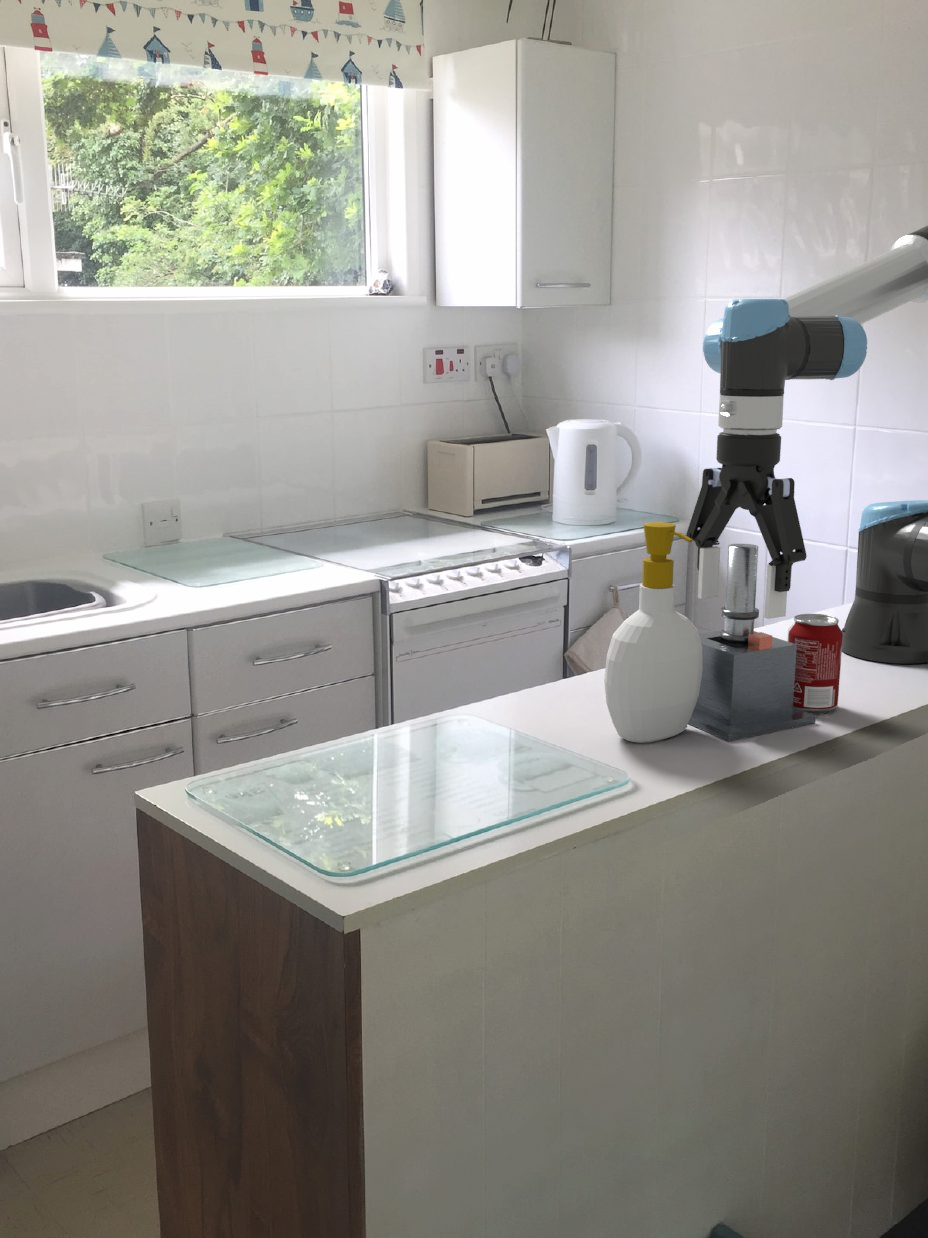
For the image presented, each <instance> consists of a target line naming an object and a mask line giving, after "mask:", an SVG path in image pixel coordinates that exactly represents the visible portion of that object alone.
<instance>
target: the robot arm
mask: <svg viewBox="0 0 928 1238" xmlns="http://www.w3.org/2000/svg"><path fill="white" fill-rule="evenodd" d="M909 302H912V303H917V304H919V303H920V304H921V303H926V302H928V225H925V226H924V227H921V228H919V229H917V230H914V231H913V232H910V233H908V234H906V235H904V236H902V237H900V238H899V239H897V240H896V241H894V243H893V244H892V246H891V248H890V250H888V251H886V252H884V253H882V254H880V255H877V256H875V257H874V258H871V259H869V260H865V262H863V263H859V264H858V265H856V266H853V267H852V268H849V269H847V270H845V271H843V272H841V273H838V274H835V275H834V276H832V277H829V278H827V279H824V280H823V281H821V282H819V283H816V284H814V285H812V286H810V287H807V288H804V289H803V290H801V291H799V292H796V293H794V294H792V295H790V296H788V297H785V298H783V299H782V298H780V299H779V298H743V299H742V298H739V299H736V298H735V299H732V300H731V301H729V302H728V303H727V304H726V305H725V308H724V312H723V318H719V319H717V320H716V321H714V322H713V323H712V324H711V325H710V326H709V327H708V329H707V330H706V332H705V334H704V337H703V342H702V352H703V357H704V360H705V362H706V364H707V365H708V367H709V368H710V369H711V370H713V371H714V372H716V373H718V374H720V375H719V377H720V378H719V380H720V381H719V384H720V385H719V403H718V405H719V406H718V422H717V423H718V424H717V425H718V427H719V428H720V429H723V430H722V432H719V433H718V435H717V437H716V438H717V439H716V440H717V441H716V462H717V463H718V464H721V465H722V466H721V467H713V468H712V467H711V468H704V469H703V470H702V479H701V480H702V481H701V487H700V491H699V494H698V497H697V500H696V502H695V506H694V510H693V512H692V515H691V519H690V522H689V524H688V527H687V531H686V536H687V537H689V538H691V539H692V542H694V543H695V547H697V558H696V559H697V562H696V567H697V571H698V581H697V583H698V584H697V598H698V599H700V600H704V599H711V598H718V597H719V584H720V583H719V581H720V580H719V579H720V564H721V560H720V557H721V547H720V546H718V545H720V542H719V539H720V537H721V535H722V534H723V531H724V530H725V529H726V527H727V525H728V524H729V522H730V520H731V518H732V516H733V514H734V513H735V512H736V510H738V509H739V508H741V509H742V510H745V511H746V510H747V511H748V512H749V514H750V515H751V516H753V517H754V519H755V521H756V524H757V527H758V529H759V532H760V533H761V536H762V538H763V541H764V543H765V546H766V548H767V550H768V553H769V556H770V558H771V560H770V561H769V562H768V564H766V578H765V596H764V597H765V598H764V614H763V615H764V616H763V618H765V619H768V620H769V619H776V618H782V617H784V618H785V617H786V616H787V598H788V592H789V591H790V590H791V585H792V583H791V581H792V567H793V565H794V564H795V563H799V562H804V561H806V559H807V557H808V556H807V551H806V547H805V542H804V538H803V537H804V536H803V533H802V528H801V527H802V526H801V522H800V519H799V514H798V509H797V506H796V505H797V504H796V500H795V483H796V482H795V480H794V479H793V478H792V477H786V478H777V477H776V475H775V472H774V470H775V467H776V465H778V464H779V463H780V462H781V452H782V451H781V449H782V448H781V447H782V436H781V435H780V433H778V431H777V430H781V428H782V427H783V421H784V419H783V418H784V417H783V416H784V415H783V414H784V399H785V397H784V395H785V387H786V386H785V385H786V381H789V380H829V381H834V380H835V379H845V378H849V377H851V376H853V375H854V374H856V373H857V372H858V371H859V370H860V369H861V367H862V366H863V365H864V362H865V360H866V357H867V350H868V337H867V333H866V331H865V329H864V327H863V326H862V325H863V324H865V323H867V322H870V321H871V320H873V319H875V318H878V317H879V316H882V315H883V314H886V313H888V312H890V311H892V310H894V309H896V308H899V307H901V306H903V305H906V304H908V303H909ZM857 540H858V542H857V543H858V544H857V558H856V560H857V561H856V574H855V575H856V576H855V591H854V592H855V593H854V600H853V602H852V606H851V607H850V610H849V613H848V614H847V616H846V617H847V618H846V620H845V623H844V627H843V628H842V629H841V631H842V633H843V640H842V652H843V653H844V654H847V655H849V656H851V657H855V658H859V659H862V660H868V661H873V662H880V663H888V664H902V665H904V664H905V665H906V664H907V665H908V664H909V665H910V664H913V665H915V664H925V663H926V664H927V663H928V499H921V500H920V499H919V500H917V499H916V500H897V501H896V500H895V501H885V502H884V501H883V502H875V503H870V504H868V505H867V506H865V508H864V509H863V510H862V513H861V519H860V525H859V528H858V539H857Z"/></svg>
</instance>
